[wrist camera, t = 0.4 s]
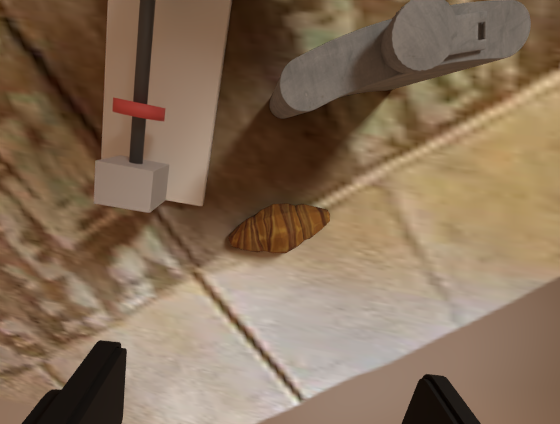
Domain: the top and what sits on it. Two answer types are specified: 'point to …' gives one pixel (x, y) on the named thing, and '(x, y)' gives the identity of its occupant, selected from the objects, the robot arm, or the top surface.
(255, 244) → the croissant
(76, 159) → the top surface
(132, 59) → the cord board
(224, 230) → the top surface
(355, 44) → the hip flask
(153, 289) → the top surface
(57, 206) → the top surface
